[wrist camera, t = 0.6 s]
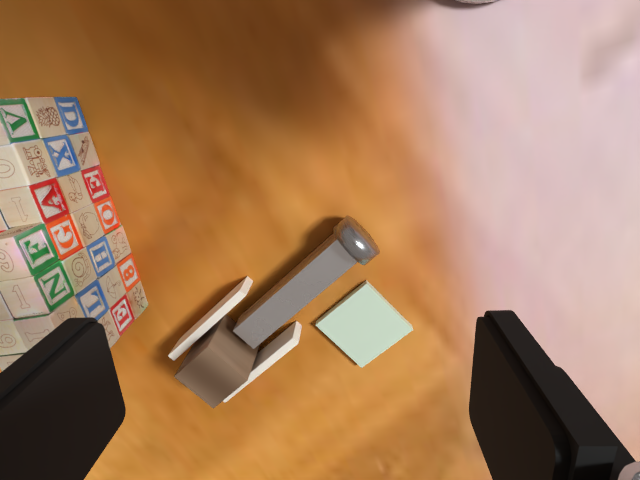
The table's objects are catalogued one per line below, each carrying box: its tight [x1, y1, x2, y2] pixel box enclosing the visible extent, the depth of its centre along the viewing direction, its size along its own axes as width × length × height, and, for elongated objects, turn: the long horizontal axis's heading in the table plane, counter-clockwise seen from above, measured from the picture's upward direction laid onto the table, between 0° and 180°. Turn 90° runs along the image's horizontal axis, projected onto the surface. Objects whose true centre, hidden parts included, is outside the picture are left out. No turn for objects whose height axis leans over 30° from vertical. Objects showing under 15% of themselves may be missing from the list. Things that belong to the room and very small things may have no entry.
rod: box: [233, 216, 380, 349], centre depth 39 cm, size 16×4×4 cm, turn 134°
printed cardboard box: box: [0, 97, 148, 371], centre depth 34 cm, size 21×6×12 cm, turn 10°
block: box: [174, 314, 260, 408], centre depth 41 cm, size 5×5×6 cm
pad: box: [316, 280, 413, 368], centre depth 42 cm, size 7×7×1 cm
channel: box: [168, 276, 302, 402], centre depth 42 cm, size 11×8×3 cm
